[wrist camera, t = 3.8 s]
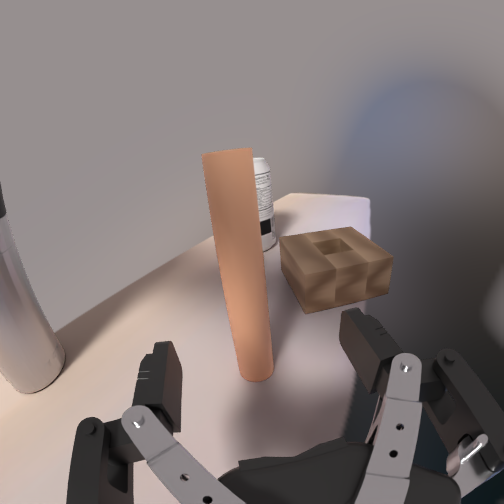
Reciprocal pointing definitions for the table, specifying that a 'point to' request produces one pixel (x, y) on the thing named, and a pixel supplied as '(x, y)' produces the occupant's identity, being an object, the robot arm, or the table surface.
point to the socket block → (334, 268)
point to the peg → (240, 256)
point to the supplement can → (265, 202)
